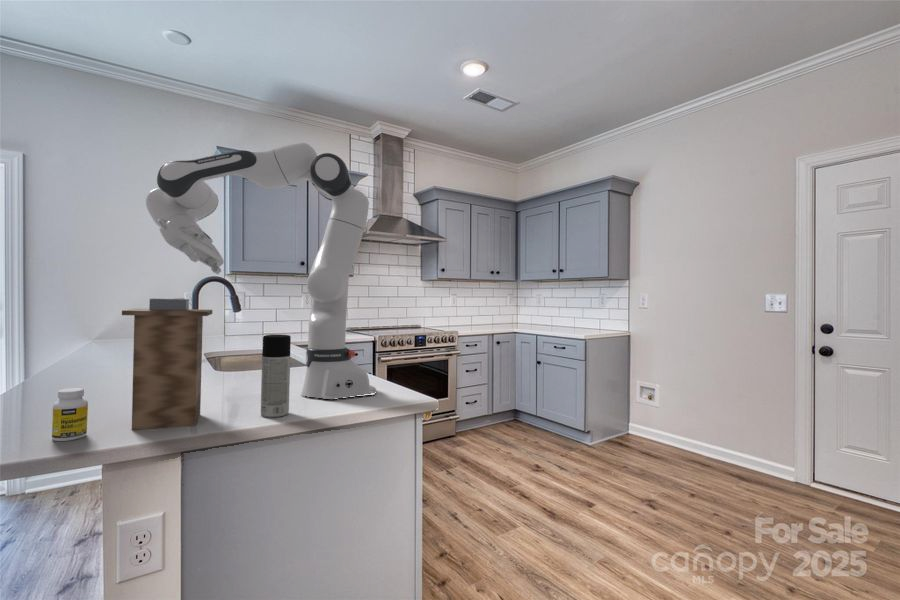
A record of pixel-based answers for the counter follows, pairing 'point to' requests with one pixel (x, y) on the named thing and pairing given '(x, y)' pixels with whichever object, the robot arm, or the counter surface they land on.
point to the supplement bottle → (70, 415)
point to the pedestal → (166, 367)
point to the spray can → (275, 375)
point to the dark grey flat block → (169, 304)
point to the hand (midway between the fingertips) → (207, 266)
